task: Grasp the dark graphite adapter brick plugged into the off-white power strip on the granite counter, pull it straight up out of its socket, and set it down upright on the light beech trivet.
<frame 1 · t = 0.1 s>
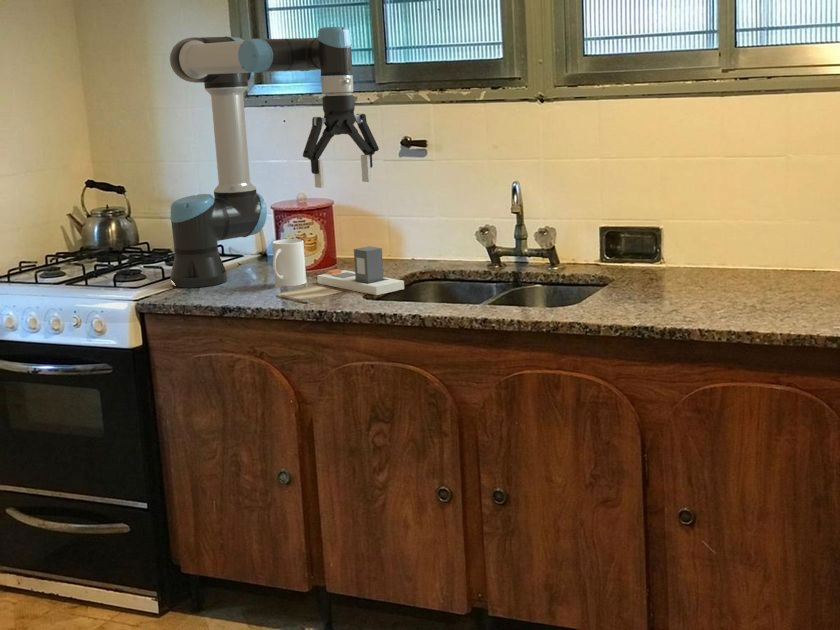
hand: (343, 184, 249), 28 cm above the worktop, fingers open, 13 cm apart
mug: (287, 288, 271), on the worktop
strip: (360, 289, 264), on the worktop
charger: (370, 287, 261), point 1 cm above the worktop, touching strip
trivet: (309, 296, 259), on the worktop
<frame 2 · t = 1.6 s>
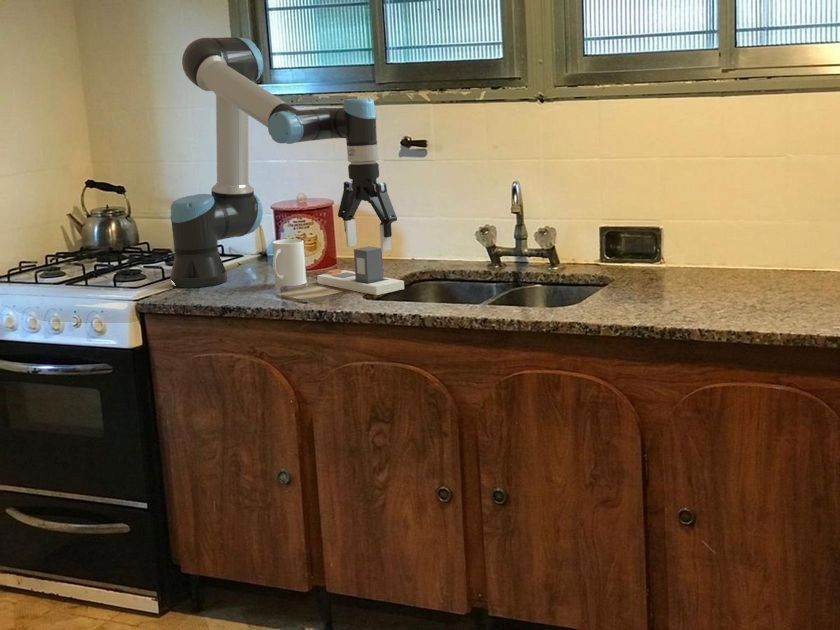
hand: (368, 248, 258), 11 cm above the worktop, fingers open, 13 cm apart
nothing on the worktop moved.
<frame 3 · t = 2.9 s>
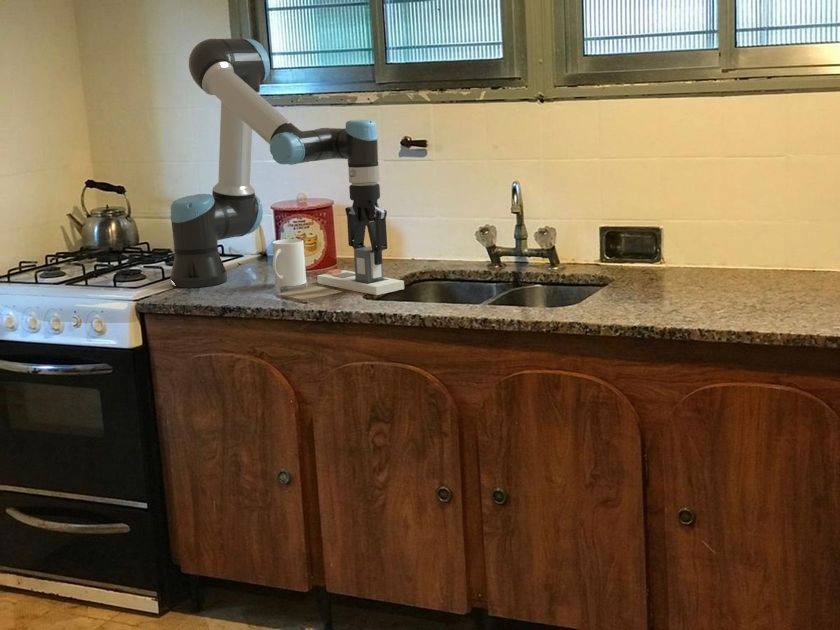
hand: (369, 275, 260), 4 cm above the worktop, fingers closed on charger, 5 cm apart
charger: (369, 287, 261), point 1 cm above the worktop, touching gripper, strip
everything else where it was.
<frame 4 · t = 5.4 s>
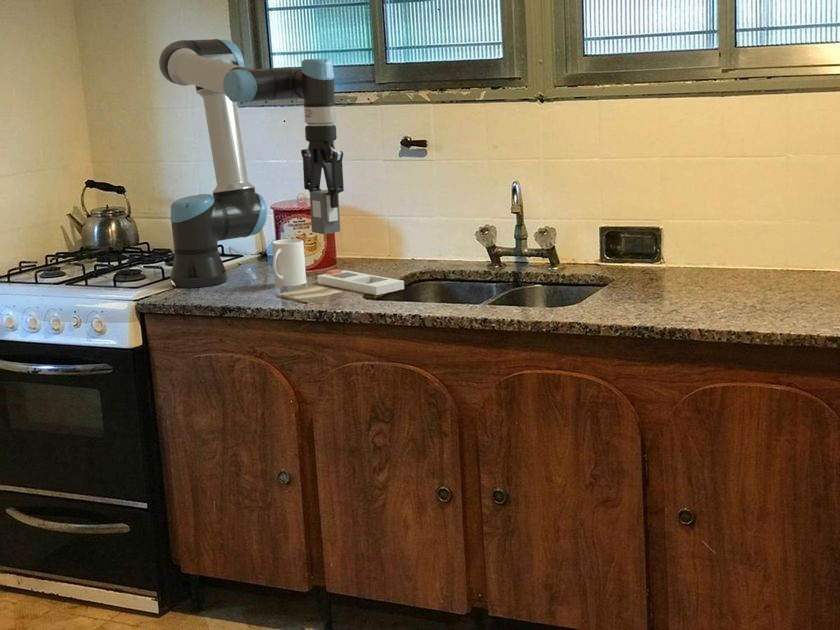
hand: (325, 219, 256), 19 cm above the worktop, fingers closed on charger, 5 cm apart
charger: (326, 231, 256), point 16 cm above the worktop, touching gripper
everything else where it was.
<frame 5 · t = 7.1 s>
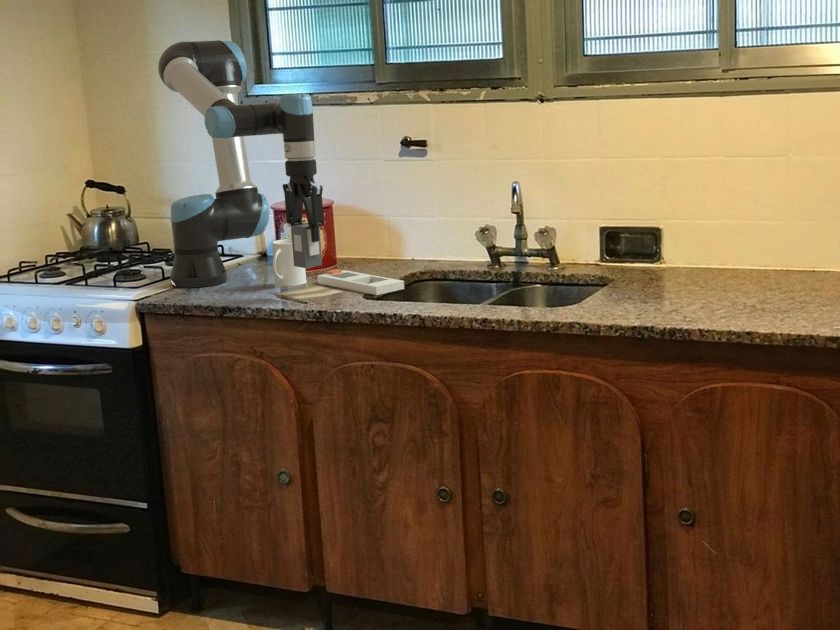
hand: (307, 253, 256), 11 cm above the worktop, fingers closed on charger, 5 cm apart
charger: (307, 265, 257), point 8 cm above the worktop, touching gripper
everything else where it was.
when the fingers open (6 cm above the worktop, at t = 8.2 s): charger drops 2 cm, resting on trivet.
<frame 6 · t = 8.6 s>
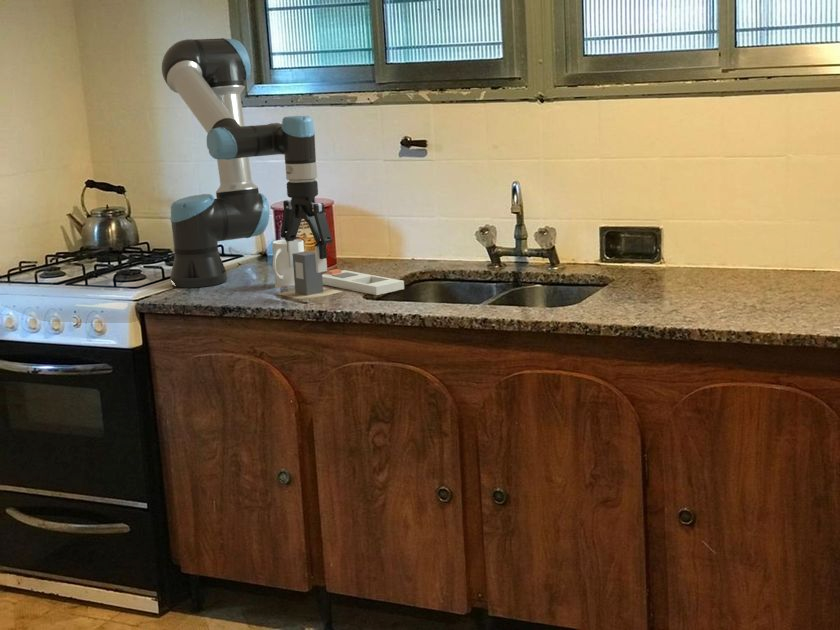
hand: (307, 269, 257), 7 cm above the worktop, fingers open, 11 cm apart
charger: (309, 292, 258), point 1 cm above the worktop, touching trivet
everything else where it was.
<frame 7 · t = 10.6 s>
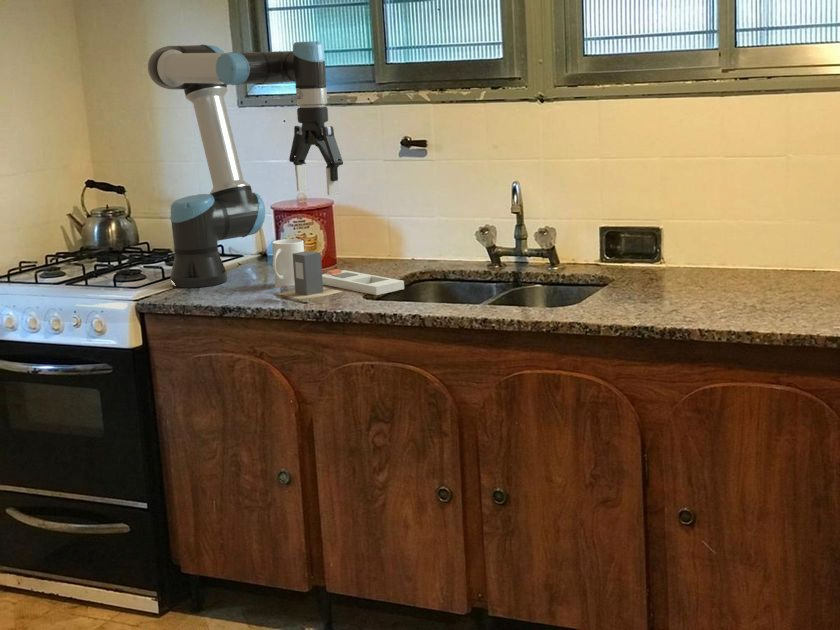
hand: (317, 192, 259), 25 cm above the worktop, fingers open, 13 cm apart
nothing on the worktop moved.
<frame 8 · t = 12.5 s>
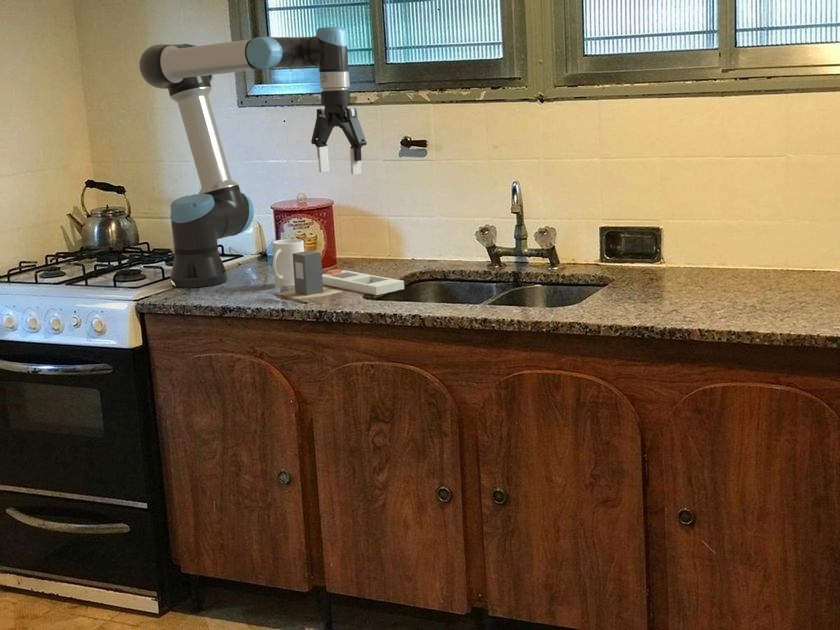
hand: (340, 172, 269), 29 cm above the worktop, fingers open, 13 cm apart
nothing on the worktop moved.
at the end: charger inside the target area on the trivet (0.0 cm from its centre), point 1.0 cm above the trivet's base; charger tilted 0°; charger touching trivet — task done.
